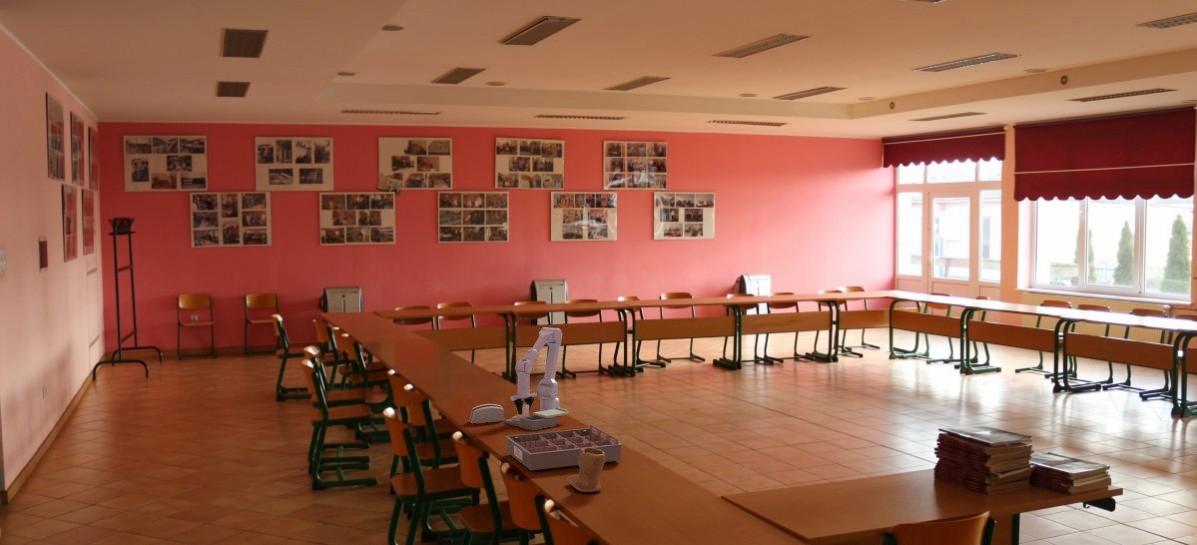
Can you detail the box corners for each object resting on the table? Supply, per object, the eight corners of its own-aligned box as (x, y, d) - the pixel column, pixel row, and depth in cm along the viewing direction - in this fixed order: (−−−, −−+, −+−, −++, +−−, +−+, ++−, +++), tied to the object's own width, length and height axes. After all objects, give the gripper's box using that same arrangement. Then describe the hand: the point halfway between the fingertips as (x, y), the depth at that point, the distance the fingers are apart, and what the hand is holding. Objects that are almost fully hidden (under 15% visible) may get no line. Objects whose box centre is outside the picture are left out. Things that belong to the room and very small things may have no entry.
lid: (555, 410, 459) (555, 406, 459) (569, 413, 451) (569, 410, 451) (533, 414, 449) (533, 410, 449) (546, 418, 442) (546, 414, 442)
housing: (527, 418, 462) (527, 409, 462) (556, 426, 446) (556, 416, 446) (504, 423, 453) (504, 413, 453) (533, 430, 437) (533, 421, 436)
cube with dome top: (524, 415, 456) (523, 401, 456) (529, 416, 453) (529, 402, 453) (517, 416, 453) (517, 402, 453) (522, 418, 451) (522, 404, 450)
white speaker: (501, 418, 462) (503, 401, 458) (504, 424, 458) (506, 406, 454) (468, 421, 456) (469, 403, 452) (470, 426, 452) (472, 408, 448)
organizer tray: (504, 455, 394) (504, 431, 393) (592, 445, 410) (592, 423, 409) (529, 474, 365) (529, 449, 364) (623, 463, 380) (623, 439, 380)
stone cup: (609, 492, 341) (609, 451, 340) (578, 495, 337) (578, 454, 336) (596, 481, 355) (596, 442, 354) (566, 484, 351) (566, 444, 350)
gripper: (530, 382, 460) (530, 410, 461) (506, 386, 450) (506, 414, 451) (539, 384, 455) (539, 412, 456) (515, 388, 445) (515, 416, 446)
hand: (523, 413), depth 453 cm, fingers closed on cube with dome top, 4 cm apart
